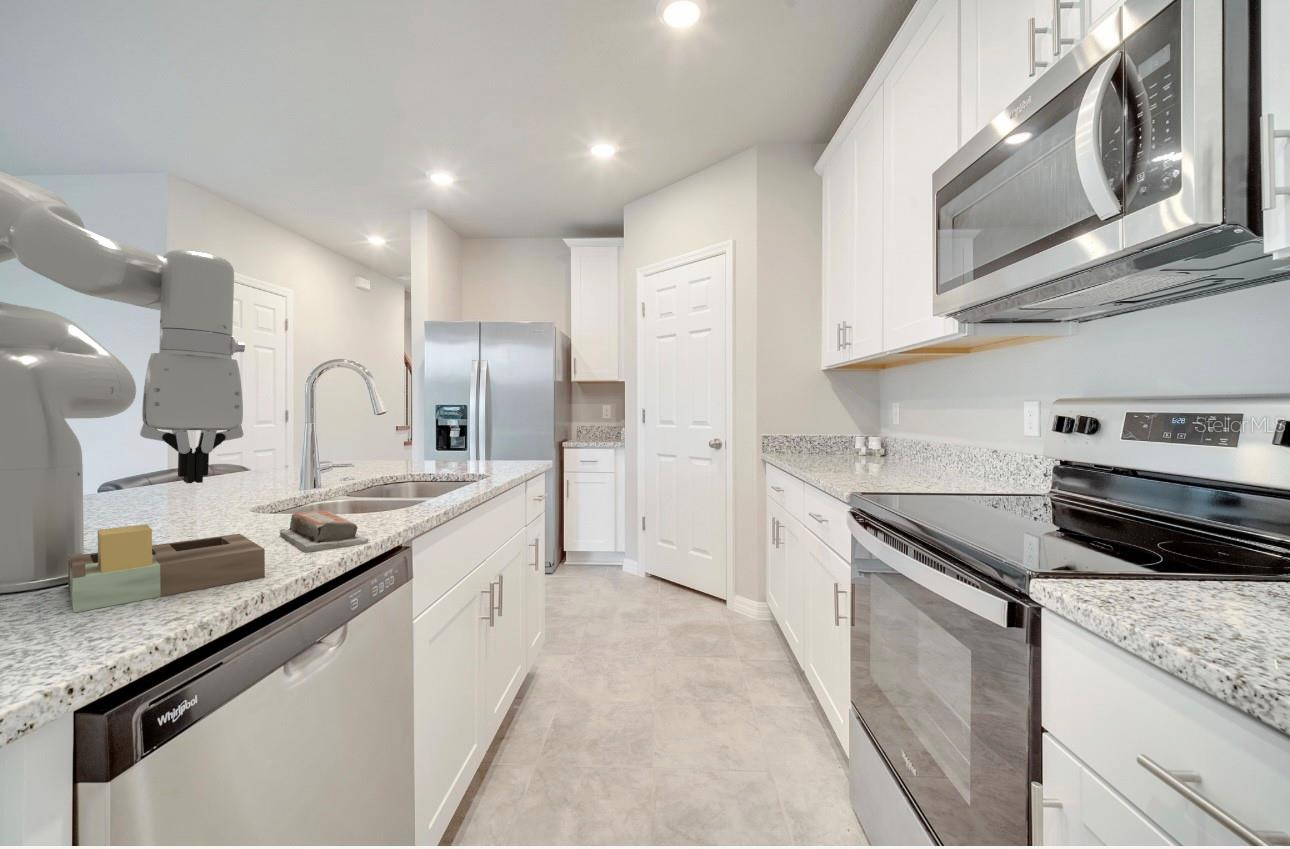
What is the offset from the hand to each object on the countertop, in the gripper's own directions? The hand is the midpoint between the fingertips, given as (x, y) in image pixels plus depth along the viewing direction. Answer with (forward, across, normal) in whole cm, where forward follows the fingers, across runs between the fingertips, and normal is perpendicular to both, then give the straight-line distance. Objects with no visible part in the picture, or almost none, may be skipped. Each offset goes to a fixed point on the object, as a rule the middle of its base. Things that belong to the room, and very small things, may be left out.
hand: (192, 481), depth 73 cm
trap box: (+14, +2, -2) cm, 14 cm away
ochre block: (+10, +7, +2) cm, 12 cm away
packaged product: (+14, -21, -14) cm, 29 cm away
